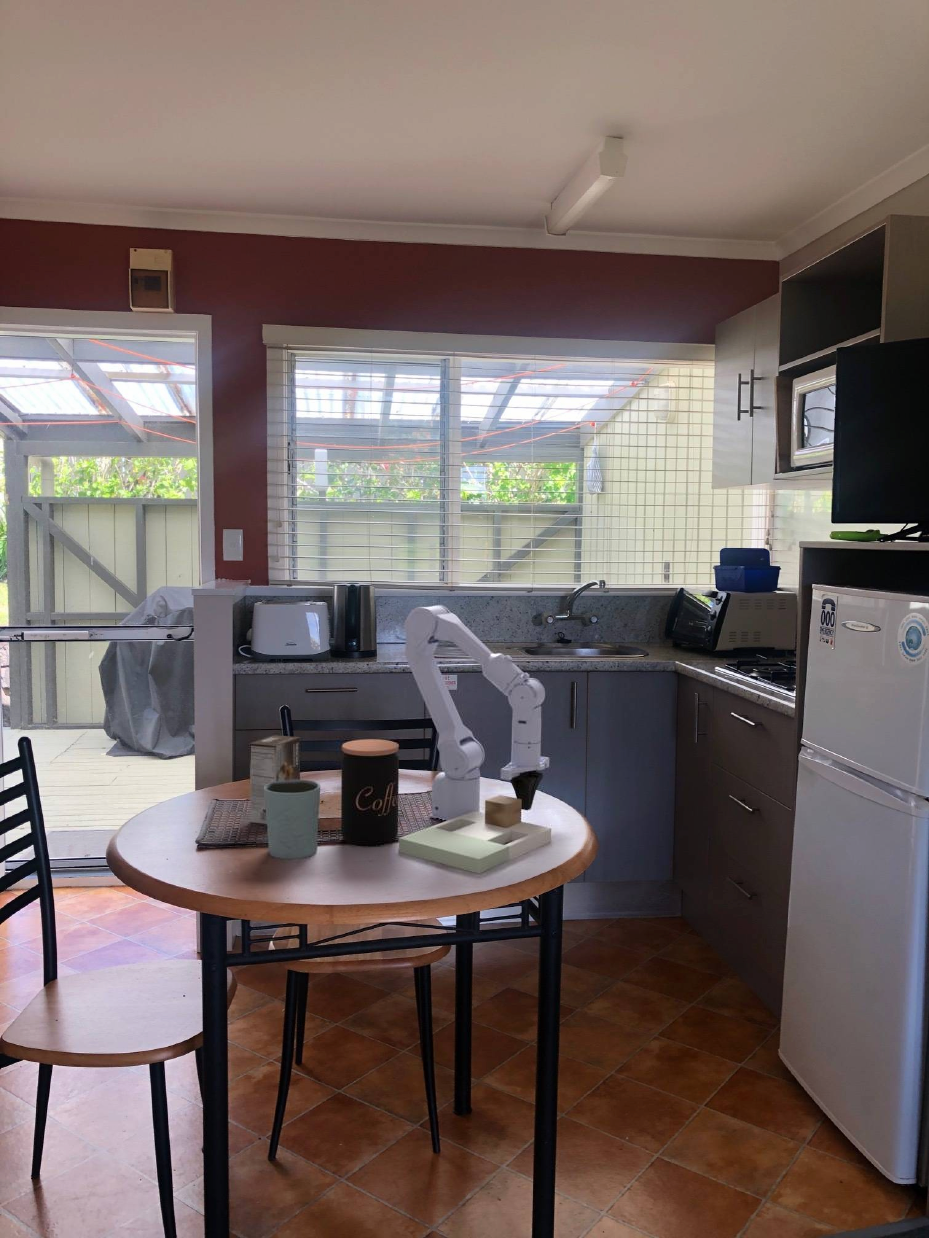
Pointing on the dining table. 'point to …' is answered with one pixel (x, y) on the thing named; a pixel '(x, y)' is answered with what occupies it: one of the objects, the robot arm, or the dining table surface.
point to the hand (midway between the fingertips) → (524, 808)
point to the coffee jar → (369, 792)
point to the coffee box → (271, 768)
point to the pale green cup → (292, 818)
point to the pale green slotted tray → (473, 842)
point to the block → (503, 811)
